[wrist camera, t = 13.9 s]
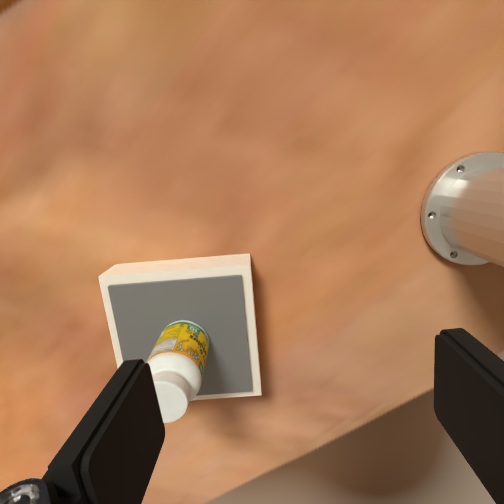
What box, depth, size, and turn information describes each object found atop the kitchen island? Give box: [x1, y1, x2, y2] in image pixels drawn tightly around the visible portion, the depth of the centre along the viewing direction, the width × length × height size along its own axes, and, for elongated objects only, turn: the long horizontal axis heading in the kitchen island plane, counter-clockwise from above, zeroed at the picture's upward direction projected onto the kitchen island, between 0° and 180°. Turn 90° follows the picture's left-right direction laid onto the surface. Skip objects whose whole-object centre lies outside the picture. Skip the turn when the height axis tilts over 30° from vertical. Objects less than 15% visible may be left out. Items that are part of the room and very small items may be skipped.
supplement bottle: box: [146, 320, 209, 423], centre depth 31 cm, size 5×5×10 cm
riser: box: [98, 254, 261, 400], centre depth 38 cm, size 16×16×5 cm
